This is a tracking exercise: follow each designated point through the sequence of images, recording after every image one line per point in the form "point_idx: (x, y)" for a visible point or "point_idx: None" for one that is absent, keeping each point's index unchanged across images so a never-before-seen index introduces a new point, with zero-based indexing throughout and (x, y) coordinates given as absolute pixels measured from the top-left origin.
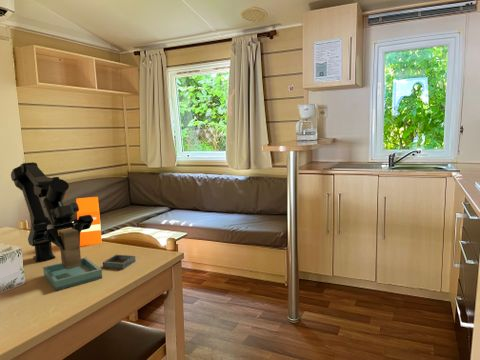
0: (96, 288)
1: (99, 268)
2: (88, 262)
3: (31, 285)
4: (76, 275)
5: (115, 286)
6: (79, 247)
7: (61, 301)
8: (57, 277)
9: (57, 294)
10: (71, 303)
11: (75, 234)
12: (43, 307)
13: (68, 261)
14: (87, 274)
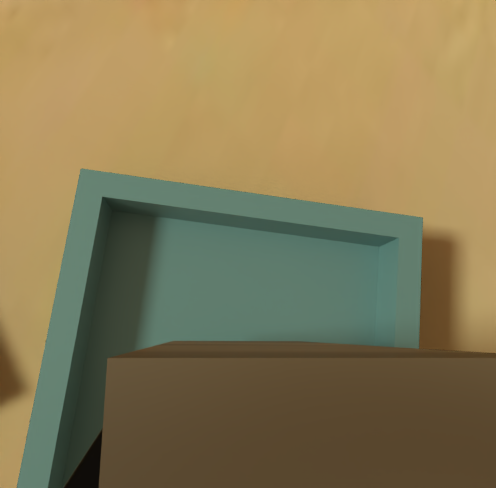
0: (205, 77)
1: (81, 201)
2: (56, 450)
3: None
4: (273, 207)
5: (114, 13)
6: (163, 344)
7: (406, 80)
8: None
9: (396, 181)
10: (376, 20)
11: (215, 354)
12: (489, 89)
13: (298, 342)
14: (196, 187)
